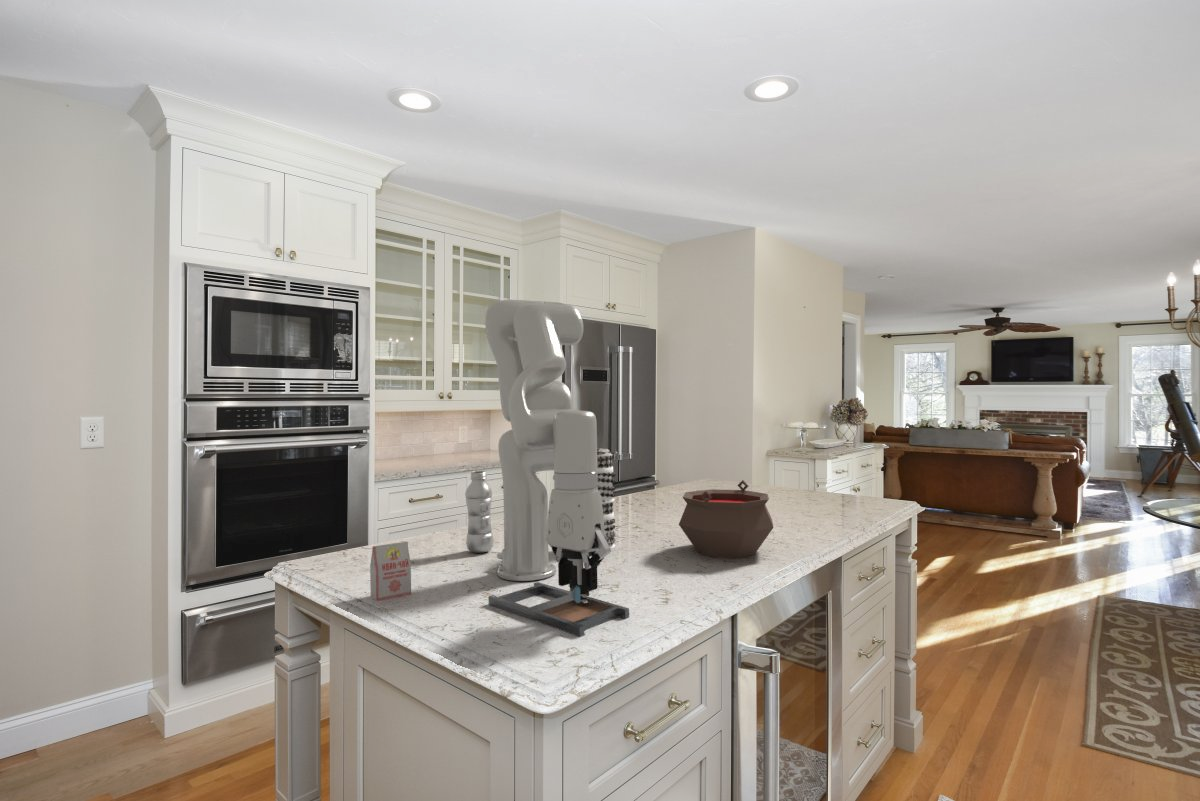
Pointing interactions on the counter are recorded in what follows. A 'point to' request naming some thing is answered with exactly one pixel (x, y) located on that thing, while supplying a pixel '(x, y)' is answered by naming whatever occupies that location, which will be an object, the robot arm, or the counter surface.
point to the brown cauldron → (726, 521)
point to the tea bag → (390, 571)
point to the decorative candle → (606, 492)
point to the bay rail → (560, 609)
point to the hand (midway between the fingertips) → (577, 586)
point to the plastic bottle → (479, 514)
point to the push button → (576, 576)
